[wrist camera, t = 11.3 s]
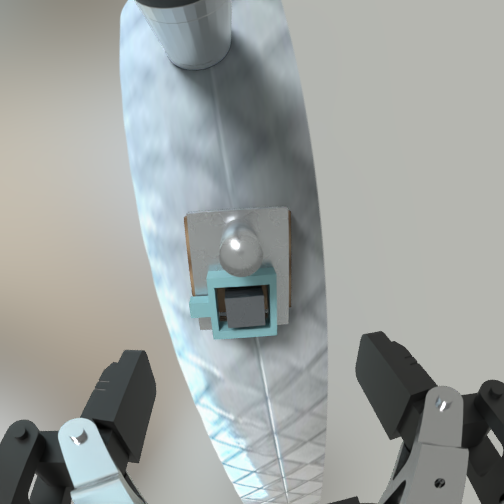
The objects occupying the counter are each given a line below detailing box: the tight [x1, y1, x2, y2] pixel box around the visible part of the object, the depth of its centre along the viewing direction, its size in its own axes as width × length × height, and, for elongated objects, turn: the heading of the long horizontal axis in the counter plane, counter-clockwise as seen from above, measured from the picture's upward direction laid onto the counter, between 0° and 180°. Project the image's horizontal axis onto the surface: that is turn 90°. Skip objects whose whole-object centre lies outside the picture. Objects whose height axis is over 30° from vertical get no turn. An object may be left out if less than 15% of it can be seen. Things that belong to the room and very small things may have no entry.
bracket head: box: [189, 267, 277, 339], centre depth 35 cm, size 8×11×2 cm
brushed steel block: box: [225, 285, 265, 328], centre depth 36 cm, size 4×4×7 cm
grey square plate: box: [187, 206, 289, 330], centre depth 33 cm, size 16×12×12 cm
